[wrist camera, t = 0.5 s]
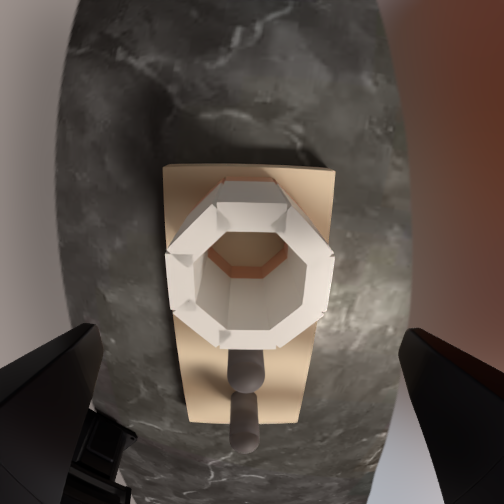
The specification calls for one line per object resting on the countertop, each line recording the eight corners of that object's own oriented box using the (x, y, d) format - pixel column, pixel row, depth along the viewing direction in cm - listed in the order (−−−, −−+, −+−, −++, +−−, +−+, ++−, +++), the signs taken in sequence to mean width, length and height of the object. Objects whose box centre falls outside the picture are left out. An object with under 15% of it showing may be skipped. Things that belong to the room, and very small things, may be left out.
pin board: (294, 409, 24) (304, 470, 18) (191, 408, 24) (182, 470, 18) (327, 167, 17) (371, 188, 11) (169, 164, 17) (129, 183, 11)
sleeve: (298, 282, 18) (319, 348, 12) (194, 281, 18) (175, 346, 12) (306, 179, 16) (341, 206, 10) (190, 176, 15) (161, 202, 10)
